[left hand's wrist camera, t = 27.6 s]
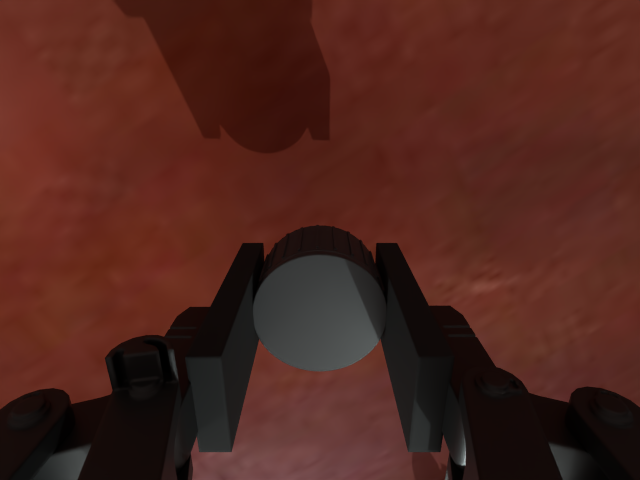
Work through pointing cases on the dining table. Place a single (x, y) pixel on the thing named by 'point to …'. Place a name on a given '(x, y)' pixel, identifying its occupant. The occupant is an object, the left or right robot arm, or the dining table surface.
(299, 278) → the cap
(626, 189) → the dining table surface
